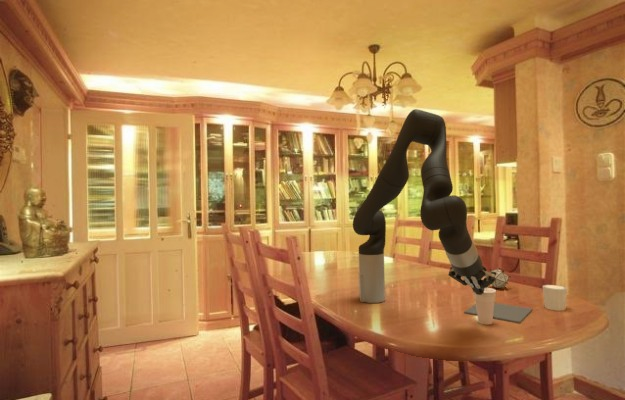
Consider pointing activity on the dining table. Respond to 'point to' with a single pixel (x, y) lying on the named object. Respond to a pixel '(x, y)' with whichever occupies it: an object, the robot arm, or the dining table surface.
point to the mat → (505, 312)
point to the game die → (500, 279)
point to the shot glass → (555, 297)
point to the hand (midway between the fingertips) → (479, 291)
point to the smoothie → (485, 305)
